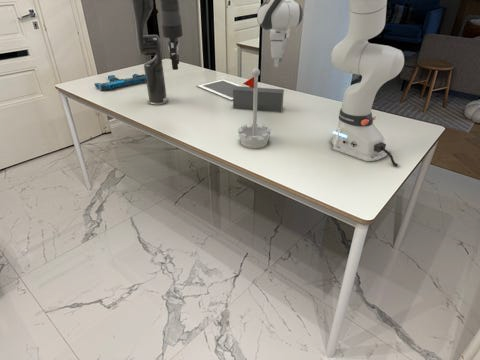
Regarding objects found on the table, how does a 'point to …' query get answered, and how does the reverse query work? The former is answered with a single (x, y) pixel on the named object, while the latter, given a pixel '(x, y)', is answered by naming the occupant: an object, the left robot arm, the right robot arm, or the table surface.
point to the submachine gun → (120, 81)
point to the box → (258, 98)
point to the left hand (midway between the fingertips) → (175, 66)
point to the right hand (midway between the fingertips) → (278, 64)
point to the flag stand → (254, 121)
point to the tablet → (220, 88)
